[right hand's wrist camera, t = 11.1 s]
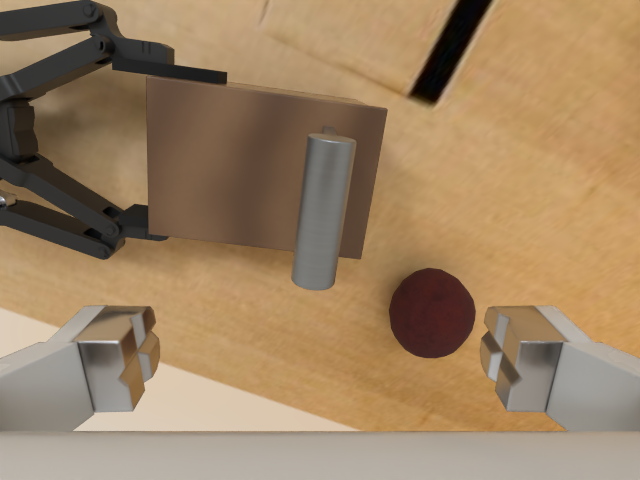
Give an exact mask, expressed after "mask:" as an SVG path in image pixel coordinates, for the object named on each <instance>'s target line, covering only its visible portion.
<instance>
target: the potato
mask: <svg viewBox="0 0 640 480" xmlns="http://www.w3.org/2000/svg"><path fill="white" fill-rule="evenodd" d="M475 312H476V311H475V306H474V301H473V299H472V297H471V295H470V294H469V292H468V291H467V289H466V288H465V287H464V286H463V285H462V283H461V282H460V281H459V280H458V279H457V278H455V277H454V276H452V275H450V274H448V273H446V272H445V271H443V270H440V269H432V268H426V269H423V270H419V271H416V272H414V273H413V274H412V275H410V276H409V277H407V278H406V279H405V280H404V281H403V282H402V283H401V285H400V286H399V287H398V288H397V290H396V291H395V293H394V295H393V297H392V301H391V304H390V308H389V314H390V322H391V329H392V331H393V333H394V336H395V337H396V339H397V340H398V342H399V343H400V344H401V345H402V346H403V348H404V349H405V350H407V351H408V352H410V353H412V354H413V355H416V356H419V357H423V358H439V357H444V356H447V355H449V354H451V353H453V352H454V351H456V350H457V349H458V348H459V347H460V346H461V345H462V344H463V343H464V341H465V340H466V339H467V338H468V336H469V334H470V333H471V331H472V329H473V325H474V321H475Z"/></svg>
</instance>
